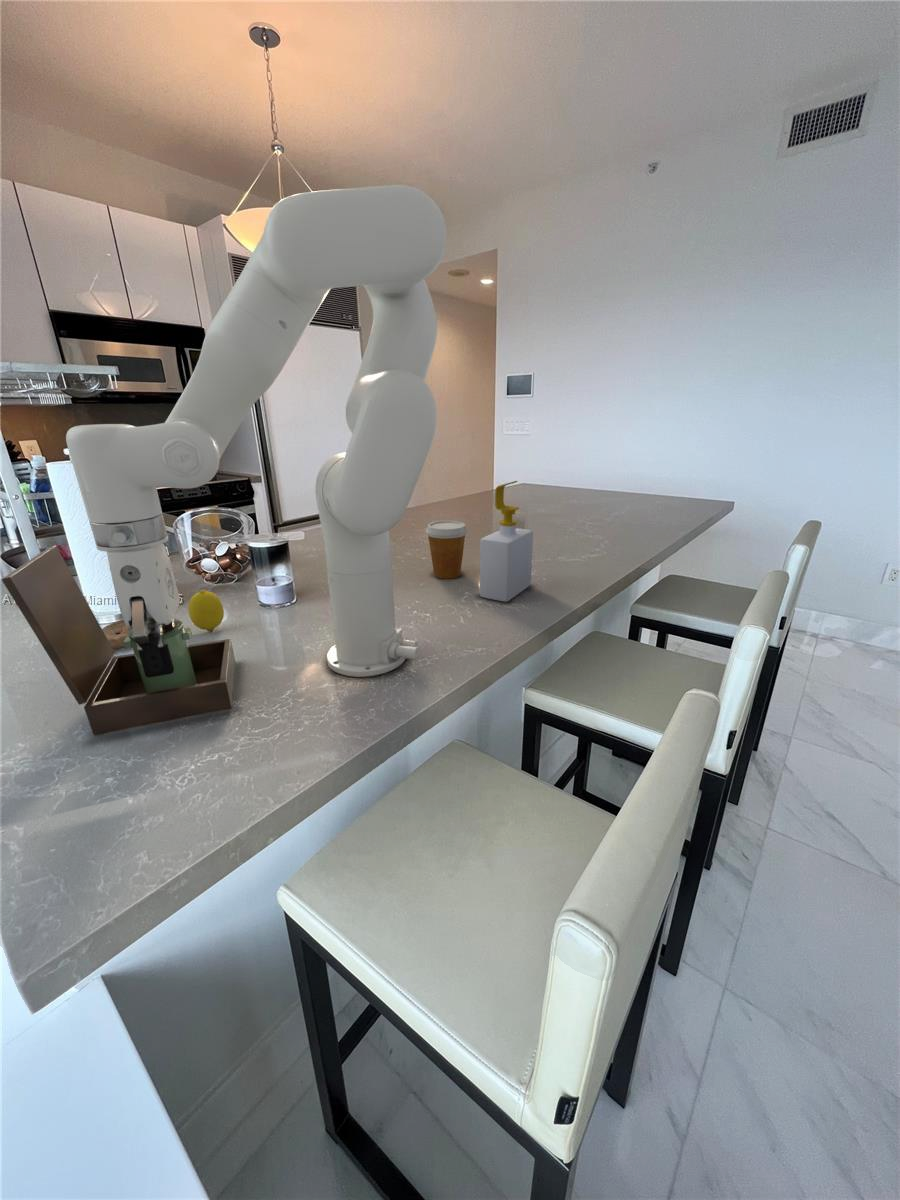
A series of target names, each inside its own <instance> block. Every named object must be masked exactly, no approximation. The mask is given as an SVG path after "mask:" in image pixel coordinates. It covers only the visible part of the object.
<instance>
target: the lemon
mask: <svg viewBox="0 0 900 1200" xmlns="http://www.w3.org/2000/svg"><path fill="white" fill-rule="evenodd" d="M188 615H189V618H190V621H191V622H192V623H193V625H194V626H195V627H197V628H198V629H201V630H203V631H207V632H209V633H210V632H213V631H214V630H215V628H217V627H219V626H220V625H221V623H222V622H223V619H224V616H225V611H224V606H223V603H222V601H221V599H220V598H219V596H218V595H216V594H215V593H214V592H211V591H208V590H205V589H200V590H199V591H198V592H196V593H195V594H193V596H191V598H190V599H189V603H188Z"/></svg>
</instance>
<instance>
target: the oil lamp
mask: <svg viewBox="0 0 900 1200" xmlns="http://www.w3.org/2000/svg"><path fill="white" fill-rule="evenodd" d="M147 622H150V621H149V620H147ZM102 630H103V632H104V634H105V636H106V637H107V639H108V641H109V643H110V645H111V647H112V648H113V650H114V651H115V650H117V649H121V648H125V647H124V644H123V642H124V640H125V638H126V637H128V636H129V635H128V634H129V632H130V631H131V630H132V629H129V628H128V627H126V625H125V623H124V620H123V619H121V620H117V621H114V622H112V623H110V624H107V625H105V626H104V627H102Z"/></svg>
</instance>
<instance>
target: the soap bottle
mask: <svg viewBox="0 0 900 1200" xmlns="http://www.w3.org/2000/svg"><path fill="white" fill-rule="evenodd" d="M515 483H518V480H513V481H510V482H506V483H503V484H499V485H497V486H496V487H495V490H494V491H495V493H494V507H495V509H496V510H497V511H500V513H501V515H503V519H502V520H500V521H499V522H498V523H499V530H497V531H494V532H493V533H490V534H488V535H485V536H483V537H481V538H480V541H479V597H480V598H485V599H489V600H494V601H497V602H504V603H506V602H509V601H510V600H511V599H513V598H515V597H516V596H518V595H519V594H520V593H522V592H523V591H524V590H526V589H527V588H529V587H530V586H531V582H532V565H533V543H534V542H533V541H534V530H532V529H525V528H518V527H517V521H516V520H514V519H513V515H515V514H516V511H517V510H519V509H520V508H519V506H514V505H513V506H512V505H511V506H510V505H505V501H504V500H505V497H504V496H505V488H506V486H509V485H513V484H515Z"/></svg>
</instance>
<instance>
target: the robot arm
mask: <svg viewBox="0 0 900 1200" xmlns="http://www.w3.org/2000/svg"><path fill="white" fill-rule="evenodd" d="M446 247H447V227H446V222H445V218H444V216H443V213H442V211H441V209H440V208H439V206H438V204H437V203H436V202H435V200H433V198H432V197H431V196H430V195H429V194H427V193H426V192H424V191H423V190H421V189H419V188H418V187H415V186H409V185H406V184H387V185H376V186H375V185H374V186H365V187H364V186H363V187H351V188H337V189H327V190H317V191H307V192H301V193H296V194H292V195H289V196H287V197H284V198H282V199H281V200H279V201H278V202H276V203H275V204H274V205H273V207H272V208H271V210H270V211H269V212H268V215H267V218H266V221H265V225H264V227H263V233H262V235H261V237H260V239H259V241H258V243H257V244H256V246H255V248H254V250H253V251H252V253H251V255H250V256H249V259H248V260H247V261H246V264H245V265H244V267H243V269H242V271H241V272H240V275H238V278H237V279H236V282H235V283H234V285H233V287H232V288H231V289H230V291H229V293H228V294H227V296H226V298H225V299H224V301H223V302H222V305H221V306H220V308H219V310H218V311H217V313H216V315H215V316H214V318H213V319H212V321H211V323H210V325H209V327H208V329H207V332H206V334H205V336H204V339H203V342H202V346H201V349H200V354H199V358H198V360H197V362H196V365H195V367H194V370H193V372H192V374H191V376H190V378H189V380H188V382H187V384H186V386H185V388H184V389H183V391H182V393H181V395H180V397H179V398H178V399H177V401H176V403H175V405H174V407H173V408H172V410H171V412H170V414H169V415H168V417H167V418H166V419H165V421H164V422H162V423H161V422H160V423H157V424H149V425H143V426H141V425H140V426H135V425H131V424H127V423H98V424H97V423H96V424H81V425H75V426H72V427H70V428H69V429H68V430H67V432H66V434H65V442H66V446H67V449H68V454H69V456H70V460H71V464H72V467H73V470H74V471H73V472H74V475H75V478H76V480H77V484H78V488H79V491H80V494H81V497H82V501H83V505H84V508H85V513H86V515H87V517H88V521H89V525H90V529H91V532H92V535H93V539H94V542H95V545H96V546H95V547H96V549H97V550H98V551H101V552H106V555H107V561H108V565H109V571H110V575H111V576H110V577H111V580H112V584H113V589H114V593H115V597H116V600H117V604H118V607H119V608H118V609H119V610H120V615H121V617H122V620H124V623H125V625H126V627H128V628H129V629H132V633H133V637H134V638H135V641H136V643H137V649H138V652H139V655H140V659H141V662H142V666H143V669H144V673H145V676H146V677H155V676H161V675H167V674H172V673H173V671H174V667H173V663H172V660H171V656H170V652H169V648H168V644H164V638H163V631H162V624H163V623H164V624H165V625H168V624H170V623H171V621H172V620H173V619H175V616H176V613H177V611H178V608H179V605H180V601H181V597H180V594H179V589H178V586H177V583H176V579H175V575H174V573H173V569H172V565H171V562H170V559H169V555H168V552H167V549H166V546H165V543H167V542H168V541H169V535H168V531H167V527H166V523H165V519H164V514H163V511H162V506H161V501H160V497H159V494H158V493H159V492H158V489H157V488H166V489H167V488H169V489H194V488H195V489H196V488H199V487H202V486H205V485H206V484H208V483H209V482H210V481H212V479H213V478H214V477H215V476H216V474H217V472H218V470H219V466H220V460H221V458H222V457H223V454H224V452H225V451H226V450H227V448H228V446H229V444H230V442H231V441H232V438H233V437H234V435H235V434H236V433H237V431H238V429H239V427H240V426H241V424H242V422H243V421H244V419H245V418H246V416H247V415H248V413H249V412H250V411H251V409H252V408H253V406H254V405H255V404H256V403H257V401H259V399H260V398H261V397H262V396H263V395H264V394H265V393H266V392H267V391H268V390H269V389H270V387H272V385H273V384H274V383H275V381H276V379H277V378H278V376H279V375H280V374H281V372H282V370H283V369H284V367H285V365H286V363H288V360H289V358H290V357H291V356H292V354H293V352H294V350H295V348H296V347H297V345H298V343H299V342H300V340H301V339H302V337H303V335H304V333H305V331H306V330H307V328H308V327H309V326H310V324H311V322H312V320H313V319H314V317H315V315H316V313H317V312H318V310H319V309H320V307H321V305H322V304H323V302H324V300H325V299H326V297H327V296H328V294H329V292H330V291H331V289H340V288H352V287H362V286H363V287H364V289H365V291H366V293H367V295H368V297H369V300H370V305H371V308H372V325H371V330H370V334H369V338H368V341H367V344H366V347H365V351H364V353H363V357H362V359H361V362H360V366H359V368H358V371H357V374H356V377H355V380H354V381H353V385H352V387H351V389H350V392H349V394H348V397H347V399H346V400H347V401H346V405H345V421H346V424H347V426H348V429H349V431H350V432H351V437H350V439H349V443H348V445H347V449H346V451H345V452H340V453H337V454H334V455H333V456H331V457H329V458H328V459H327V460H326V461H324V463H323V464H322V466H321V467H320V469H319V471H318V473H317V476H316V479H315V499H316V505H317V512H318V517H319V521H320V527H321V533H322V538H323V539H322V540H323V545H324V553H325V554H324V555H325V562H326V574H327V583H328V591H329V600H330V608H331V609H330V610H331V617H332V628H333V635H334V645H333V646H331V647H330V648H329V650H328V651H327V654H326V663H327V666H328V667H329V669H330V670H331V671H334V673H337V674H339V675H342V676H347V677H354V678H364V677H374V676H380V675H382V674H386V673H388V672H392V671H394V670H395V669H397V668H398V667H400V666H401V665H402V664H404V662H405V660H411V661H412V660H413V661H416V660H418V658H419V655H420V648H419V647H418V641H417V640H411V639H405V638H404V637H403V629H402V628H398V627H397V628H396V618H395V617H396V616H395V615H396V614H395V597H394V581H393V564H392V563H393V560H392V547H391V539H390V538H391V537H390V530H392V529H393V528H394V527H395V526H396V525H397V524H398V523H399V522H400V520H401V519H402V517H403V516H404V514H405V513H406V510H407V509H408V506H409V504H410V502H411V499H412V496H413V494H414V492H415V488H416V486H417V483H418V480H419V478H420V475H421V473H422V470H423V467H424V465H425V461H426V459H427V457H428V454H429V451H430V448H431V446H432V442H433V440H434V436H435V433H436V429H437V421H438V420H437V418H438V411H437V405H436V400H435V397H434V394H433V392H432V390H431V388H430V387H429V385H428V384H427V383H426V382H425V381H426V378H427V374H428V371H429V368H430V365H431V361H432V359H433V354H434V351H435V347H436V343H437V335H438V321H437V314H436V309H435V305H434V301H433V298H432V295H431V293H430V290H429V287H428V284H427V282H426V280H425V279H426V278H427V277H430V275H431V274H432V273H433V272H435V270H436V269H437V268H438V266H439V265H440V263H441V262H442V260H443V257H444V256H445V255H444V254H445V252H446ZM147 620H149V621H155V622H156V623H152V624H147ZM153 628H155V631H156V637H155V635H154V634H153V633H149V631H148V629H153Z"/></svg>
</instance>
